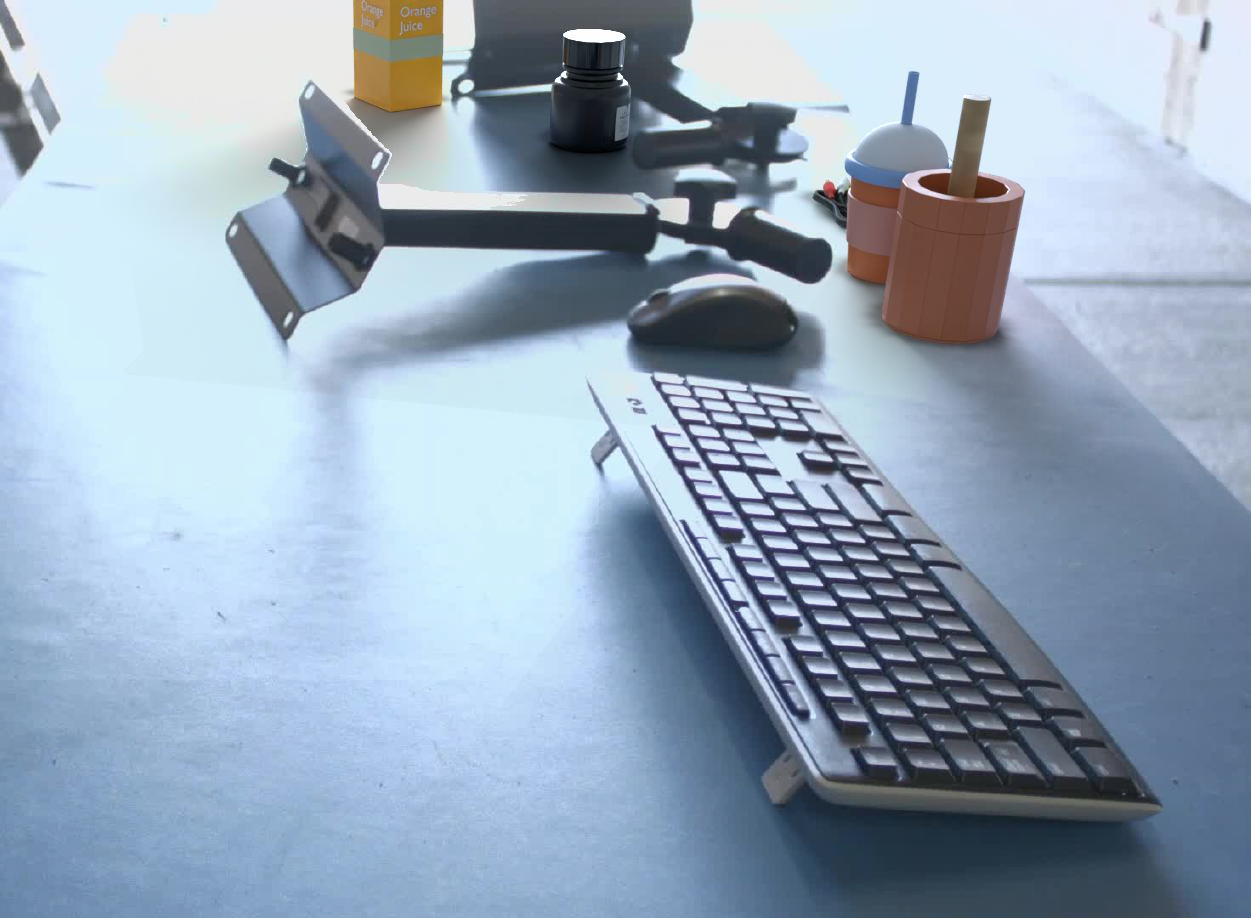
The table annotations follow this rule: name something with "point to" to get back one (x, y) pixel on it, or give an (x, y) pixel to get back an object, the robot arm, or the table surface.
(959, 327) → the jar
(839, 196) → the composite cable
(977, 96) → the brass-colored tamper
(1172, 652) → the table surface
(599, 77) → the ink bottle
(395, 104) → the orange juice
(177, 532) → the table surface
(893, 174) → the cup with straw
